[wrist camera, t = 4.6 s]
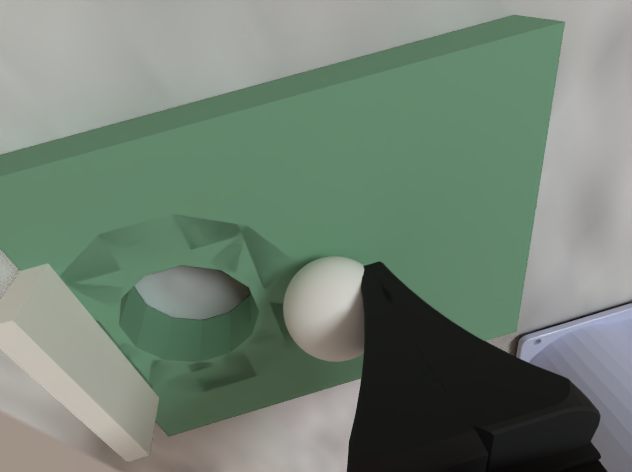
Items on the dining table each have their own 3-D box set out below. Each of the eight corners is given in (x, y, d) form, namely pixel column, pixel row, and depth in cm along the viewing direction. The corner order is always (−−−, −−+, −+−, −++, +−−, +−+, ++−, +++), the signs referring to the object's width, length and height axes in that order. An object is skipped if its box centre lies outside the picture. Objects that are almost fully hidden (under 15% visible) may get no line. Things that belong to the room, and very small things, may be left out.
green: (514, 14, 13) (640, 32, 9) (489, 298, 21) (550, 373, 17) (-23, 161, 12) (-142, 248, 8) (165, 395, 21) (150, 496, 17)
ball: (324, 336, 10) (252, 273, 13) (337, 404, 12) (273, 340, 15) (410, 267, 12) (332, 222, 14) (408, 337, 14) (340, 289, 16)
